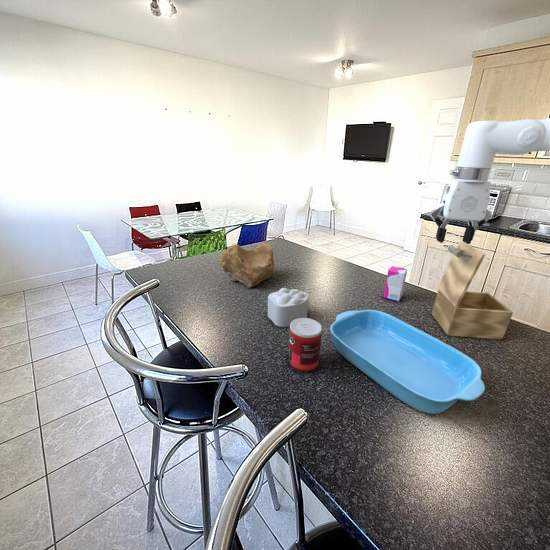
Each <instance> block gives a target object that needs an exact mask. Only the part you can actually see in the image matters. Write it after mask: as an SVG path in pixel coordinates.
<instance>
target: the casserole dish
mask: <svg viewBox="0 0 550 550" xmlns="http://www.w3.org/2000/svg"><path fill="white" fill-rule="evenodd" d="M329 330H330V334H331V337H332V342H333V345H334V347H335V349H336V351H338V353H339V354H340V355H341V356H342V357H343V358H344V359H346V360H347V361H348V362H349V363H351V364H352V365H353V366H355V367H356V368H357V369H359V370H360V371H361V372H363V373H364V374H365V375H366V376H368V377H369V378H370V379H371V380H373V381H374V382H375V383H377V384H378V385H379V386H380V387H382V388H383V389H384V390H386V391H387V392H389V393H390V394H391V395H393V396H394V397H396V398H397V399H398V400H400V401H401V402H403V403H404V404H406V405H407V406H409V407H411V408H413V409H415V410H417V411H419V412H421V413H426V414H433V415H434V414H440V413H442V412H445V411H447V410H448V409H450V408H451V407H452V406H453V405H455V404H456V403H457V402H458V401H465V402H473V401H475V400H477V399H478V398H480V397H481V396H482V394H484V392H485V390H486V386H485V383H484V382H483V380H482V379H481V378H482V374H483V372H482V368H481V367H480V365H479V364H478V363H477V362H476V361H475V360H474V359H472V358H471V357H470V356H468V355H467V354H465V353H463V352H462V351H460V350H459V349H456V348H455V347H454V346H451V345H449V344H448V343H445V342H444V341H442V340H440V339H438V338H436V337H434V336H432V335H430V334H428V333H426V332H424V331H423V330H421V329H419V328H418V327H417V328H416V327H415V326H413V325H411V324H409V323H407V322H405V321H403V320H402V319H399V318H397V317H395V316H393V315H391V314H389V313H386V312H384V311H380V310H376V309H361V310H346V311H344V312H341V313H339V314H338V315H336V317H335V321H333V323H331V325H330V329H329Z"/></svg>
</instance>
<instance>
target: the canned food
mask: <svg viewBox="0 0 550 550" xmlns="http://www.w3.org/2000/svg"><path fill="white" fill-rule="evenodd" d="M322 335H323V327H322V324H321V323H320V322H319V321H317V320H315V319H313V318H309V317H307V318H298V319H295V320H293V321H292V322H291V324H290V326H289V335H288V338H289V339H288V356H287V357H288V362H289V364H290V366H291V367H292V368H293V369H295V370H296V371H299V372H312V371H314V370H316V368H317V367H318V365H319V363H320V355H321V346H322V345H321V344H322Z"/></svg>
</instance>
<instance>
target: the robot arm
mask: <svg viewBox="0 0 550 550" xmlns="http://www.w3.org/2000/svg"><path fill="white" fill-rule="evenodd" d="M534 152H550V117H549V118H540V119H532V118H527V119H519V120H509V121H508V120H507V121H500V120H477V121H472V122H470V123H469V124H468V125H467V127H466V129H465V132H464V137H463V140H462V145H461V148H460V151H459V156H458V160H457V163H456V167H455V168H454V169H450V171H449V176H452V178H453V179H450V181H449V183H448V185H447V186H446V189H445V192H444V194H443V197H442V200H441V203H440V204H439V205H438V206H436V207H435V208H434V209H432V210H430V212H429V216H430V218H431V219H432V220H433V222H434V223H435V224H436V226H437V230H436V234H435V239H436V242H439V243H441V244H442V243H444V242H445V238H446V235H447V231H448V230H447V228H446V227H447V225H448V224H449V223H450V222H451V221H465V222H466V221H467V224H468V227H466V228H465V230H464V234H463V237H462V240H461V241H463V242H465V243H466V244H468V245H471V243H472V241H473V240H474V236H475V233H476V231H477V230H479V228H480V227H482V226H484V225H485V223H486V222H488V221H489V220H491V219H492V218H493V215H492V213H491V212H490V211H489V210H488V207H489V201H490V197H491V186H492V182H491V181H488V180H489V177H490V174H491V170H492V167H493V164H494V160H495V157H496V154H497V155H510V156H511V155H512V156H520V155H525V154H529V153H534ZM438 215H439V216H438ZM440 216H441V218H440Z"/></svg>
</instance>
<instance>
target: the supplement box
mask: <svg viewBox="0 0 550 550" xmlns="http://www.w3.org/2000/svg"><path fill="white" fill-rule="evenodd" d="M407 274H408V268H405V267H399V266H394V265H391V266H390V267H389V269H387V275H386V280H385V285H384V290H383V297H382V298H383V299H385V300H388V301H392V302H397V303H399V302H400V300H401V299H402V298H403V294H404V293H403V292H404V288H405V283H406V278H407Z"/></svg>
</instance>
